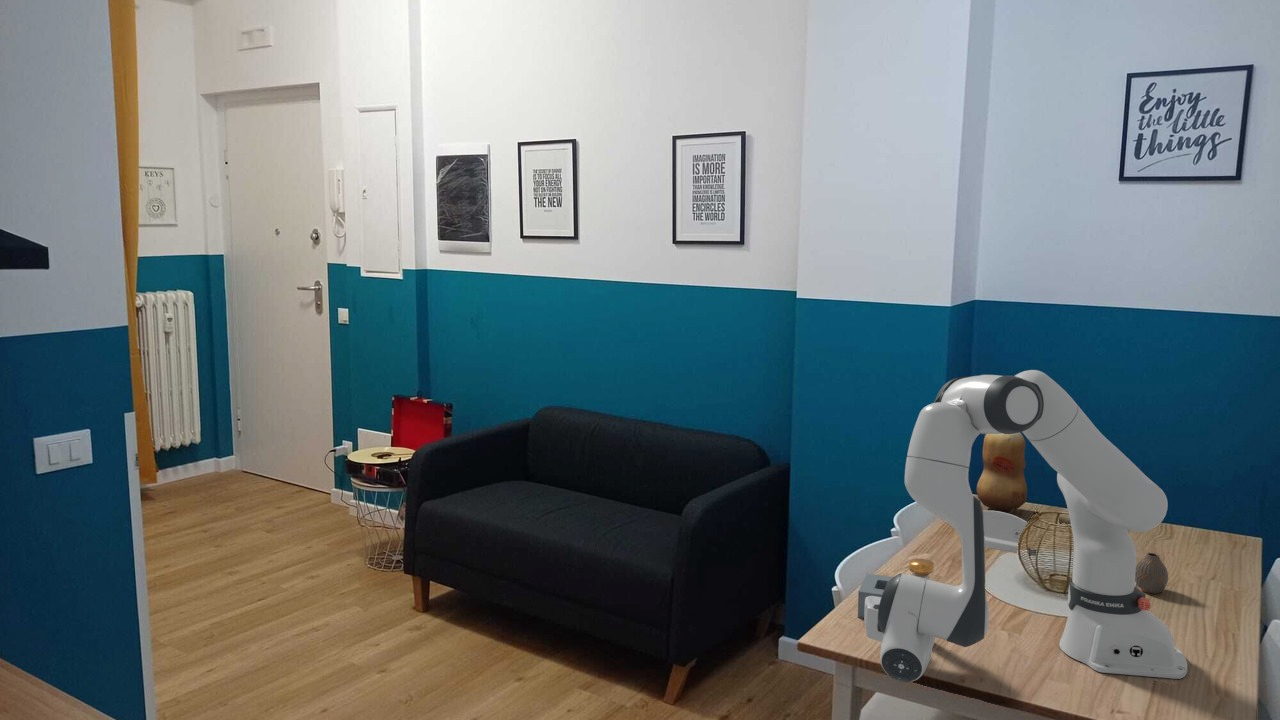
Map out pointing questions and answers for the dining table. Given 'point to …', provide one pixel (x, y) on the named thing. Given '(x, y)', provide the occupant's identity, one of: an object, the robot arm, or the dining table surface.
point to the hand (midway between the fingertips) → (919, 600)
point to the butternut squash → (1003, 472)
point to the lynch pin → (921, 567)
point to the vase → (1151, 574)
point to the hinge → (1002, 530)
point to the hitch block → (871, 589)
